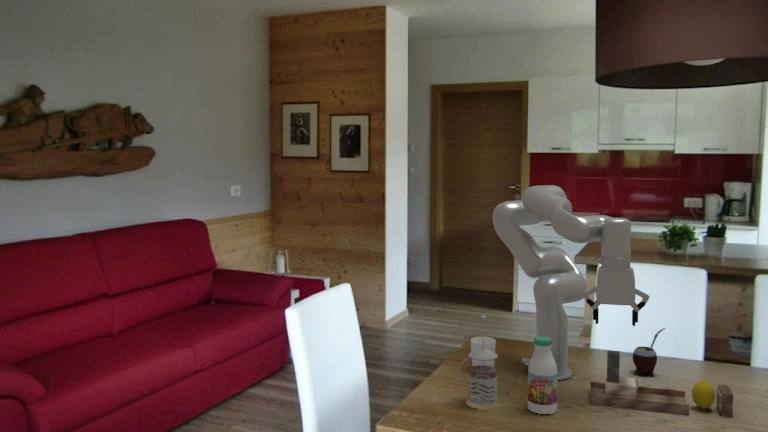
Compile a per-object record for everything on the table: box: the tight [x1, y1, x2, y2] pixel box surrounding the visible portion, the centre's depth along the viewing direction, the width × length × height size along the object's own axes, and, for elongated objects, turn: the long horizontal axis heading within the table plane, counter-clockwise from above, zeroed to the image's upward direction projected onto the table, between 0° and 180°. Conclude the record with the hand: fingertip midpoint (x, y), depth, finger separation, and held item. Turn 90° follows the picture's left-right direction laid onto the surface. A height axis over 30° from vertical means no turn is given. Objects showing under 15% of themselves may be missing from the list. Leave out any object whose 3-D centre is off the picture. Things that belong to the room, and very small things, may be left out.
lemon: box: [691, 379, 716, 410], centre depth 174 cm, size 6×6×8 cm
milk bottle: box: [527, 336, 558, 415], centre depth 174 cm, size 8×8×20 cm
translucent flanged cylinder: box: [470, 336, 497, 368], centre depth 207 cm, size 8×8×10 cm
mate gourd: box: [632, 327, 666, 378], centre depth 202 cm, size 8×8×15 cm
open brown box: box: [715, 384, 734, 418], centre depth 172 cm, size 3×7×6 cm, turn 161°
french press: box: [458, 314, 499, 405], centre depth 179 cm, size 10×12×25 cm
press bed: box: [589, 380, 690, 416], centre depth 179 cm, size 25×11×3 cm, turn 71°
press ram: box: [604, 350, 640, 398], centre depth 180 cm, size 9×7×12 cm
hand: (615, 323), depth 179 cm, fingers open, 9 cm apart
